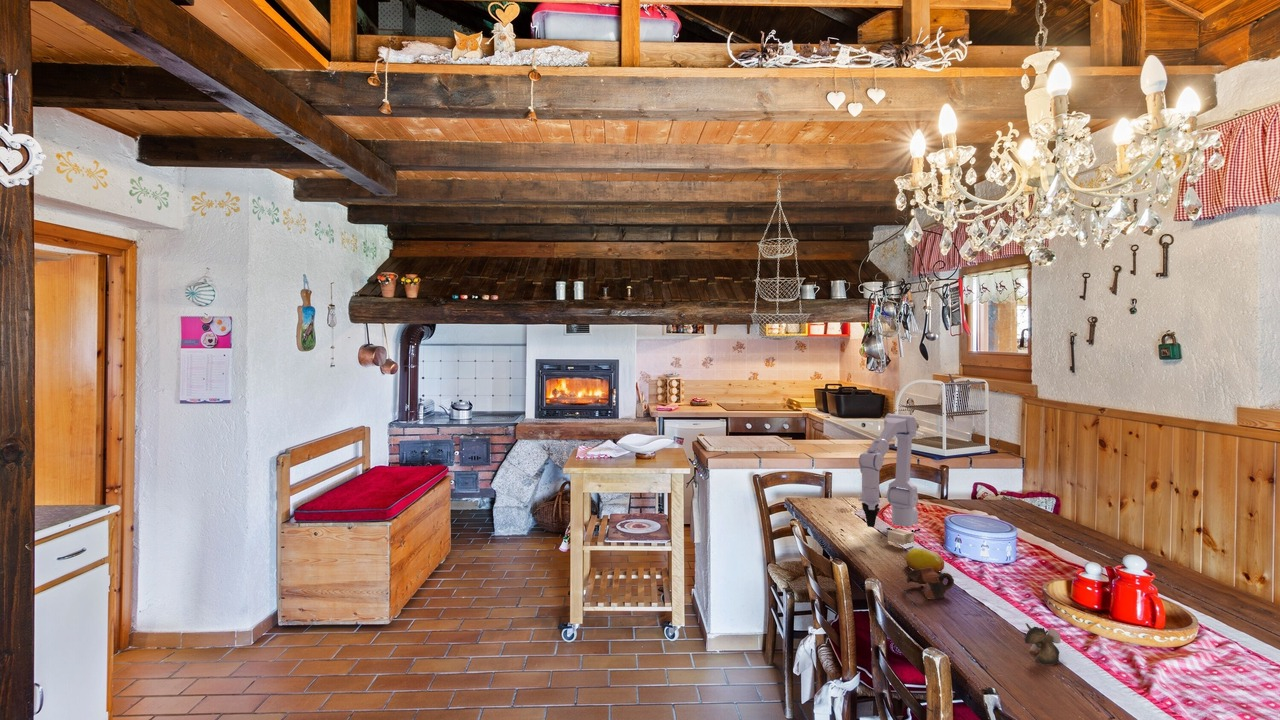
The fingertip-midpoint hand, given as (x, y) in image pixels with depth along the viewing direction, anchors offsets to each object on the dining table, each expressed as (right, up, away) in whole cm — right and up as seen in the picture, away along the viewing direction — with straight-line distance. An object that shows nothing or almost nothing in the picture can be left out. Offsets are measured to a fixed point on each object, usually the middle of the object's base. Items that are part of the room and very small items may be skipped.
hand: (870, 525), depth 204 cm
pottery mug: (0, -7, -43) cm, 43 cm away
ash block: (+10, -7, -2) cm, 12 cm away
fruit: (+7, -7, -25) cm, 27 cm away
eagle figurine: (+8, -7, -76) cm, 76 cm away
